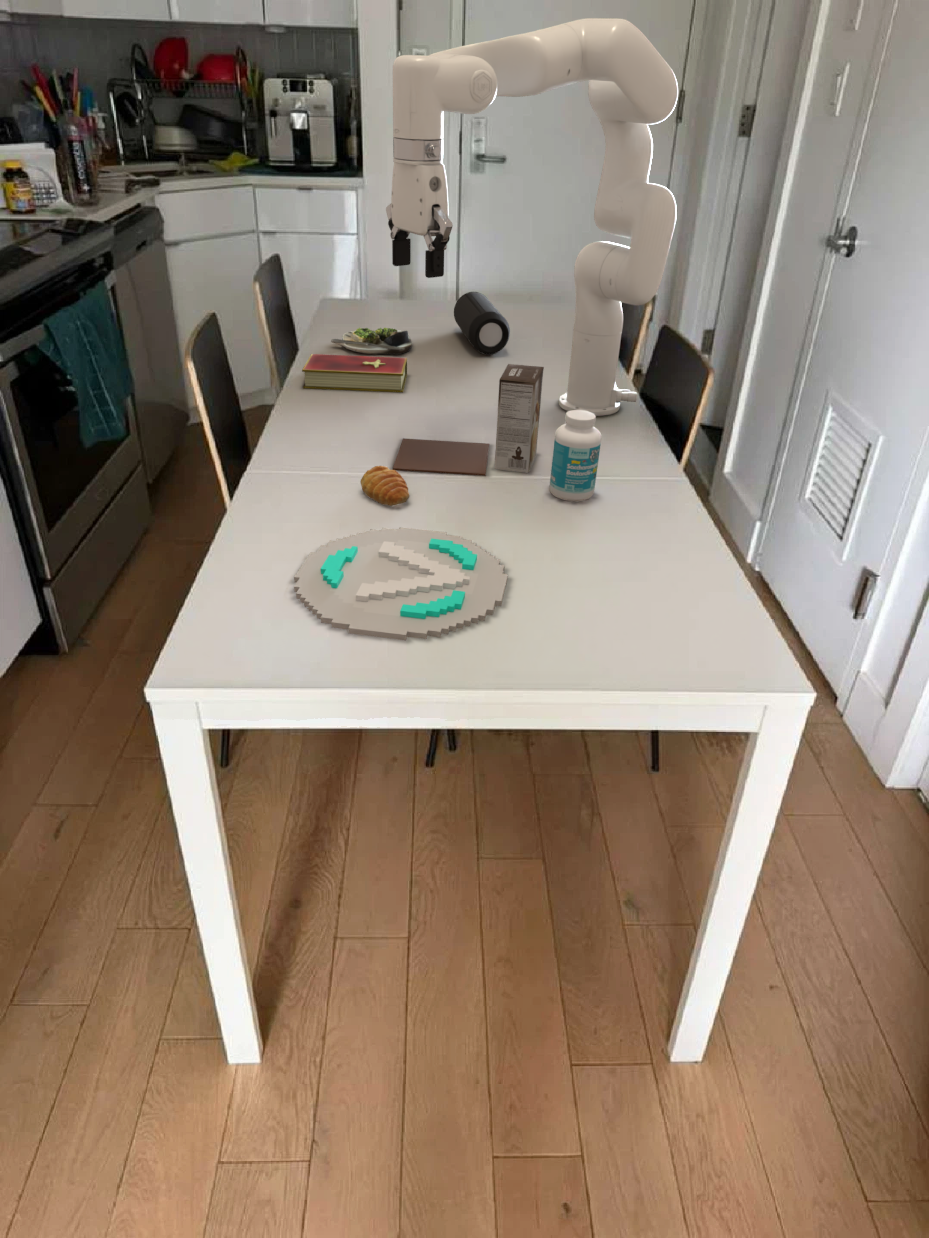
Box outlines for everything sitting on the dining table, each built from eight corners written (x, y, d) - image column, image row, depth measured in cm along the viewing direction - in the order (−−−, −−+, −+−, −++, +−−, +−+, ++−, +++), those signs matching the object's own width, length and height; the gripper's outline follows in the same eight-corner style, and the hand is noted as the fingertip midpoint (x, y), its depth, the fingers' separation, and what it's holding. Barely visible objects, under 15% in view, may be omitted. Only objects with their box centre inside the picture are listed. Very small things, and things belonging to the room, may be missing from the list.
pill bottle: (564, 506, 142) (573, 425, 134) (540, 488, 147) (547, 410, 140) (603, 498, 145) (613, 419, 137) (577, 481, 150) (586, 404, 143)
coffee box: (502, 450, 161) (507, 362, 152) (536, 454, 160) (544, 366, 151) (493, 469, 153) (498, 378, 144) (529, 474, 152) (537, 382, 143)
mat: (489, 445, 162) (489, 443, 162) (485, 476, 151) (485, 473, 150) (402, 440, 163) (402, 438, 163) (392, 470, 151) (392, 468, 151)
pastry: (420, 503, 140) (420, 481, 138) (382, 512, 137) (381, 490, 135) (392, 482, 147) (392, 460, 145) (356, 490, 144) (355, 468, 142)
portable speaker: (511, 357, 210) (513, 314, 205) (470, 358, 208) (471, 314, 203) (488, 329, 231) (490, 289, 226) (451, 329, 229) (452, 289, 224)
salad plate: (332, 358, 205) (331, 337, 202) (329, 336, 219) (329, 317, 217) (415, 357, 208) (415, 337, 205) (407, 336, 222) (407, 317, 220)
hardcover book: (312, 371, 196) (311, 352, 194) (407, 375, 196) (407, 356, 194) (303, 388, 186) (301, 368, 183) (402, 392, 186) (402, 372, 184)
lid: (489, 650, 107) (490, 639, 106) (267, 623, 110) (266, 612, 109) (516, 544, 130) (516, 534, 129) (332, 524, 133) (331, 515, 132)
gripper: (471, 157, 130) (467, 279, 139) (408, 146, 141) (408, 259, 151) (429, 158, 126) (427, 284, 135) (367, 147, 138) (370, 263, 147)
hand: (417, 271), depth 143 cm, fingers open, 9 cm apart
